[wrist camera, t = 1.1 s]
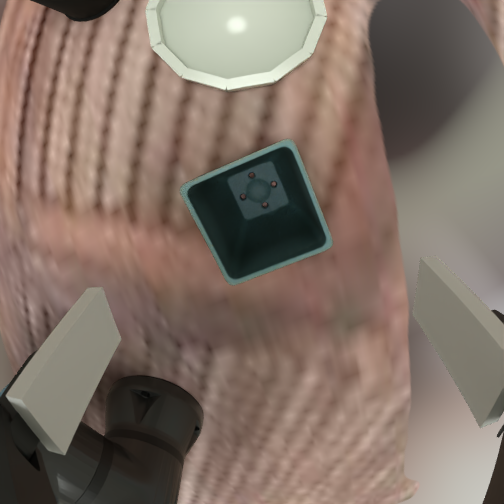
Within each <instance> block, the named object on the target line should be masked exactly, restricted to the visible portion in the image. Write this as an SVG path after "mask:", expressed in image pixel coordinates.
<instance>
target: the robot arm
mask: <svg viewBox="0 0 504 504" xmlns="http://www.w3.org/2000/svg"><path fill="white" fill-rule="evenodd" d="M413 316H414V318H415V319H416V321H417V322H418V323H419V325H420V327H421V328H422V330H423V331H424V333H425V334H426V336H427V337H428V339H429V341H430V342H431V344H432V345H433V347H434V348H435V350H436V352H437V353H438V355H439V357H440V358H441V360H442V361H443V363H444V365H445V366H446V368H447V370H448V371H449V373H450V375H451V377H452V378H453V380H454V381H455V383H456V385H457V387H458V389H459V390H460V392H461V394H462V396H463V397H464V399H465V401H466V403H467V404H468V406H469V408H470V410H471V412H472V413H473V415H474V417H475V419H476V421H477V423H478V425H479V427H480V428H482V427H485V426H487V425H489V424H492V423H494V422H496V421H498V420H499V418H500V416H501V415H502V413H503V411H504V315H503V314H502V313H500V312H498V311H497V310H490V309H489V308H488V307H487V306H486V305H485V304H484V303H483V302H482V300H480V298H479V297H478V296H477V295H476V294H475V293H474V292H473V291H472V290H471V289H470V288H469V287H468V286H467V285H466V284H465V283H464V282H463V281H462V280H461V279H460V278H459V277H457V276H456V274H455V273H453V272H452V271H451V270H450V269H449V268H448V267H447V266H446V265H445V264H444V263H443V262H442V261H441V260H439V258H438V257H436V256H432V257H423V258H420V265H419V274H418V281H417V288H416V295H415V302H414V308H413ZM120 341H121V337H120V334H119V332H118V329H117V326H116V324H115V321H114V318H113V316H112V313H111V310H110V307H109V304H108V302H107V299H106V296H105V293H104V290H103V287H94V288H88V289H87V290H86V291H85V292H84V293H83V294H82V296H81V297H80V298H79V299H78V300H77V302H76V303H75V304H74V305H73V306H72V308H71V309H70V310H69V311H68V313H67V314H66V315H65V316H64V317H63V319H62V320H61V321H60V322H59V324H58V325H57V326H56V327H55V329H54V330H53V331H52V333H51V334H50V335H49V336H48V338H47V339H46V340H45V342H44V343H43V344H42V346H41V347H40V348H39V349H38V350H37V351H35V352H34V353H33V354H32V355H30V356H29V357H28V359H27V360H26V361H25V363H24V364H23V367H21V368H20V370H19V371H18V372H17V375H15V376H14V378H13V379H12V381H11V382H10V383H9V384H8V385H7V386H6V387H5V388H4V389H3V390H2V391H1V392H0V504H177V501H178V495H179V489H180V482H181V476H182V469H183V464H184V459H185V457H186V455H187V454H188V452H189V451H190V449H191V448H192V446H193V444H194V443H195V441H196V440H197V438H198V436H199V435H200V432H201V429H202V423H203V412H202V409H201V407H200V405H199V404H198V403H197V401H196V400H195V399H194V398H193V397H192V396H191V395H190V394H188V393H187V392H186V391H184V390H183V389H181V388H179V387H177V386H175V385H173V384H171V383H169V382H166V381H163V380H160V379H156V378H152V377H145V376H131V377H126V378H123V379H120V380H118V381H117V382H115V383H114V384H113V386H112V387H111V389H110V392H109V394H108V396H107V399H106V415H105V435H104V436H102V435H101V434H99V433H98V432H96V431H95V430H93V429H92V428H90V427H89V426H87V425H86V424H85V423H83V422H82V421H81V419H82V417H83V415H84V412H85V410H86V408H87V406H88V404H89V402H90V400H91V398H92V396H93V394H94V392H95V390H96V388H97V386H98V384H99V382H100V380H101V378H102V376H103V374H104V372H105V370H106V368H107V366H108V364H109V362H110V360H111V358H112V356H113V354H114V352H115V350H116V349H117V347H118V345H119V343H120ZM503 431H504V425H503V426H502V428H501V429H500V431H499V432H498V434H497V437H500V435H501V434H502V432H503ZM483 504H504V433H503V437H502V441H501V445H500V449H499V454H498V457H497V461H496V464H495V468H494V471H493V474H492V478H491V481H490V484H489V487H488V490H487V493H486V496H485V498H484V501H483Z"/></svg>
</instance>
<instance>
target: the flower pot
mask: <svg viewBox="0 0 504 504" xmlns="http://www.w3.org/2000/svg"><path fill="white" fill-rule="evenodd" d="M250 173H254V177H253V178H250V177H249V174H250ZM273 181H275V182H276V183H277V184H276V186H272V185H271V182H273ZM180 194H181V196H182V198H183V200H184V202H185V204H186V205H187V207H188V209H189V211H190V213H191V215H192V217H193V219H194V220H195V222H196V224H197V226H198V228H199V230H200V232H201V234H202V235H203V238H204V239H205V241H206V243H207V245H208V247H209V249H210V250H211V253H212V254H213V257H214V258H215V260H216V262H217V264H218V266H219V268H220V270H221V272H222V274H223V276H224V278H225V280H226V281H227V282H228V284H230V285H237V284H240V283H243V282H245V281H248V280H250V279H253V278H256V277H258V276H260V275H263V274H266V273H269V272H271V271H274V270H276V269H279V268H282V267H284V266H287V265H289V264H292V263H294V262H297V261H300V260H303V259H305V258H308V257H310V256H313V255H316V254H318V253H321V252H324V251H326V250H328V249H329V248H331V247H332V245H333V240H332V237H331V234H330V232H329V229H328V226H327V224H326V221H325V219H324V216H323V213H322V211H321V208H320V206H319V203H318V201H317V198H316V195H315V193H314V190H313V188H312V185H311V182H310V180H309V177H308V175H307V172H306V169H305V167H304V164H303V162H302V160H301V157H300V154H299V152H298V149H297V147H296V145H295V143H294V142H293V141H292V140H291V139H285V140H282V141H280V142H277V143H275V144H273V145H270V146H268V147H266V148H263V149H261V150H259V151H257V152H254V153H252V154H250V155H247V156H245V157H243V158H241V159H238V160H236V161H234V162H231V163H229V164H227V165H224V166H222V167H220V168H218V169H215V170H213V171H211V172H208V173H206V174H204V175H201V176H199V177H197V178H195V179H193V180H191V181H189V182H187V183H185V184H183V185H182V186H181V188H180ZM242 194H245V195H246V198H245V199H242V198H241V195H242ZM264 202H266V203H267V204H268V205H267V207H263V206H262V204H263V203H264Z"/></svg>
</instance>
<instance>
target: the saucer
mask: <svg viewBox="0 0 504 504" xmlns="http://www.w3.org/2000/svg"><path fill="white" fill-rule="evenodd" d="M145 12H146V18H147V25H148V31H149V37H150V43H151V47H152V49H153V50H154V51H155V52H156V53H157V54H158V55H159V56H160V57H161V58H162V59H163V60H164V61H165V62H166V63H167V64H168V65H169V66H170V67H171V68H172V69H173V70H174V71H175V72H176V73H177V74H178V75H179V76H180V77H181V78H183V79H185V80H187V81H191V82H194V83H198V84H202V85H205V86H209V87H212V88H216V89H219V90H222V91H225V92H228V91H229V92H233V91H238V90H244V89H249V88H255V87H261V86H267V85H273V83H274V84H275V83H276V82H278V81H279V80H280V79H282V78H283V77H284V76H286V75H287V74H288V73H290V72H291V71H293V70H294V69H295V68H297V67H298V66H299V65H301V64H302V63H304V62H305V61H306V60H308V59H309V58H310V56H311V55H312V54H313V52H314V49H315V47H316V44H317V42H318V39H319V37H320V34H321V32H322V29H323V27H324V24H325V22H326V19H327V13H326V9H325V5H324V1H323V0H149V3H148V5H147V7H146V11H145Z"/></svg>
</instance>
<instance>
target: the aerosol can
mask: <svg viewBox="0 0 504 504" xmlns="http://www.w3.org/2000/svg"><path fill="white" fill-rule="evenodd" d="M31 1H34V2H36V3H39V4H41V5H44V6H47V7H49V8H52V9H54V10H56V11H59V12H61V13H64V14H65V15H66V16H67V17H68V18H69V19H72V20H74V21H88V20H92V19H95V18H97V17H99V16H101V15H103V14H104V13H106V12H107V11H108V10H110V9H111V8H112V7H113V6H114V5H115V4H116V3H117V2H118V1H119V0H31Z"/></svg>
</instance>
